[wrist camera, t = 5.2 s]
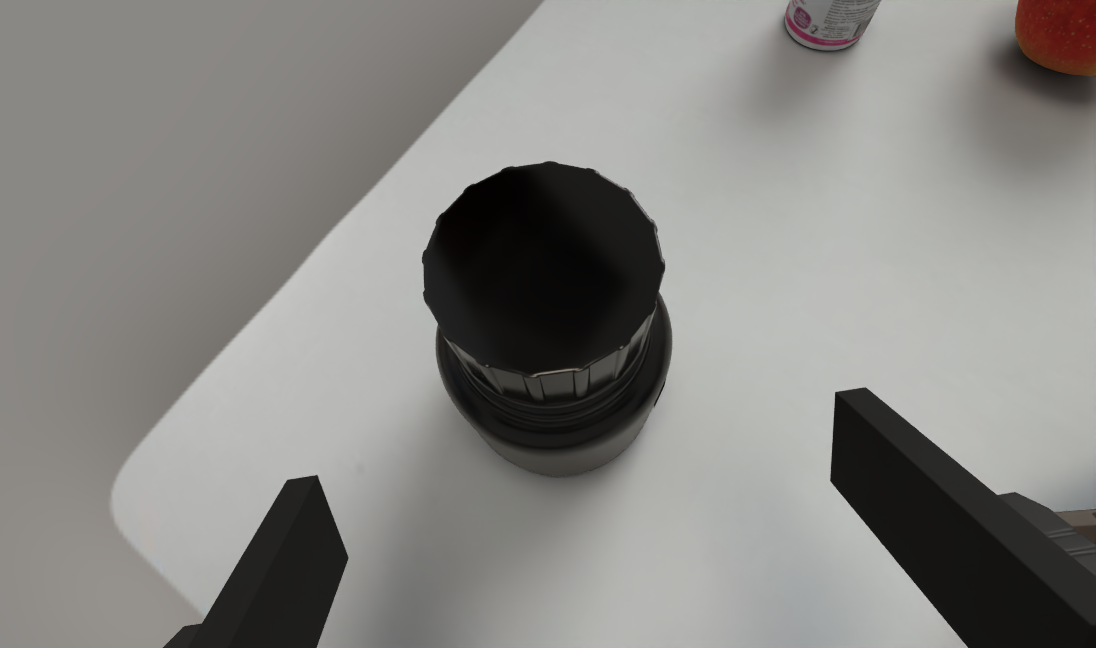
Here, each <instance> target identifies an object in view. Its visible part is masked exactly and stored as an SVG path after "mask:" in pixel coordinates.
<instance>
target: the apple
mask: <svg viewBox="0 0 1096 648" xmlns="http://www.w3.org/2000/svg"><path fill="white" fill-rule="evenodd" d="M1015 32H1016V38H1017V42H1018V44H1019V46H1020V48H1021V50H1022V51H1023V53H1024V54H1025V55H1026V56H1027V57H1028V58H1029V59H1031V60H1032V61H1034V62H1035V63H1037V64H1039V65H1041V66H1043V67H1046V68H1048V69H1052V70H1055V71H1058V72H1062V73H1067V74H1073V75H1084V76H1095V75H1096V0H1019V1H1018V6H1017V12H1016V18H1015Z"/></svg>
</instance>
